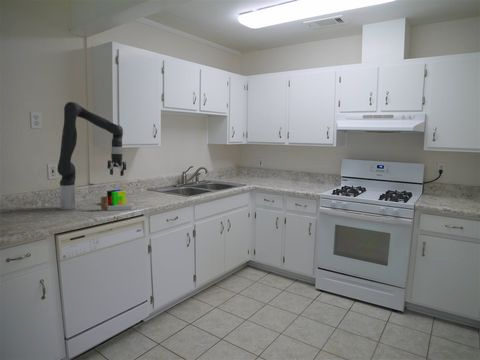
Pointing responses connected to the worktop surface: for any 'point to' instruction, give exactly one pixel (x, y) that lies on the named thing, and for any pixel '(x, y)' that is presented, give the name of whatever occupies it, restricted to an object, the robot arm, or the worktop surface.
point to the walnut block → (104, 203)
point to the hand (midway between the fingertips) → (116, 175)
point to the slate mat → (119, 208)
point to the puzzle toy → (116, 197)
